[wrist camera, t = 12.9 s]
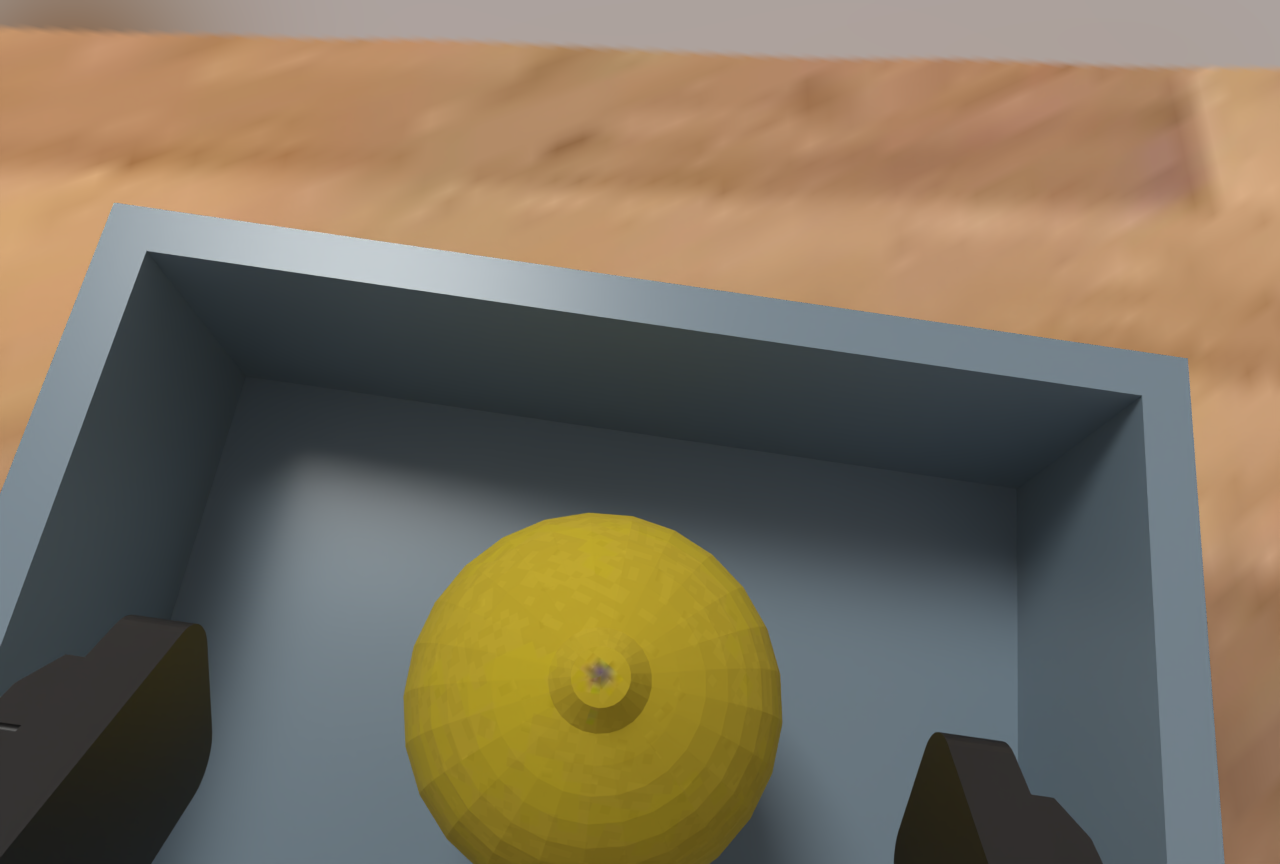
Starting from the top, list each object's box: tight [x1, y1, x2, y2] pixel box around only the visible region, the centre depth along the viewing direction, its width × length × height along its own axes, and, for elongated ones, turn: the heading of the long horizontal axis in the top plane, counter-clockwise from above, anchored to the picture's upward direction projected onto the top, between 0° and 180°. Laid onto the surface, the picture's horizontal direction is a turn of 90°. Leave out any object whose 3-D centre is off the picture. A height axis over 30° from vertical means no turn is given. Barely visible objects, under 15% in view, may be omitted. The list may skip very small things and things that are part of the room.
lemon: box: [403, 513, 782, 864], centre depth 15 cm, size 6×6×8 cm
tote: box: [0, 203, 1225, 864], centre depth 17 cm, size 18×13×6 cm
